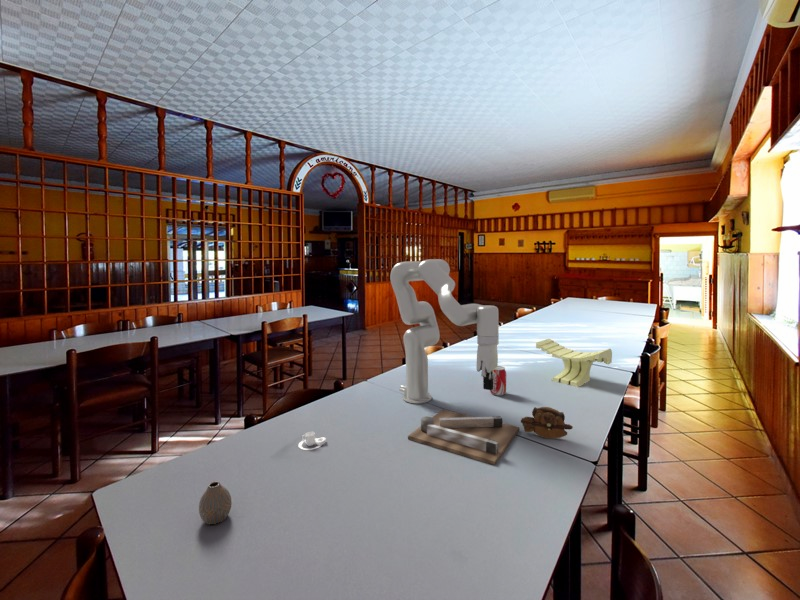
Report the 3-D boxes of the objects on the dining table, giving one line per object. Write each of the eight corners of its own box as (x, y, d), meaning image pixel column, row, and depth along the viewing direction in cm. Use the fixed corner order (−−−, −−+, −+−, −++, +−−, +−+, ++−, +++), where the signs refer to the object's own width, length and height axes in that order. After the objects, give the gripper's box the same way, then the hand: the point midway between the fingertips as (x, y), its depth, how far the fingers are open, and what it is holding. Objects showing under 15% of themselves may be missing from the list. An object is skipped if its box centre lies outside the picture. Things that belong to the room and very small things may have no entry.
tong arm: (440, 428, 128) (440, 420, 128) (439, 425, 131) (439, 417, 130) (502, 426, 129) (502, 418, 129) (500, 424, 131) (500, 416, 131)
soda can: (506, 397, 161) (507, 370, 160) (490, 396, 162) (490, 369, 161) (505, 391, 168) (505, 365, 166) (489, 390, 169) (489, 365, 168)
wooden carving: (520, 436, 125) (520, 408, 124) (520, 430, 129) (521, 403, 128) (573, 444, 120) (574, 414, 118) (571, 437, 124) (573, 409, 123)
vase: (207, 510, 90) (205, 476, 89) (236, 508, 91) (234, 474, 90) (194, 530, 83) (191, 494, 82) (225, 528, 84) (223, 492, 83)
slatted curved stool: (610, 383, 176) (612, 347, 174) (597, 391, 166) (599, 353, 164) (550, 370, 198) (551, 337, 197) (535, 376, 188) (536, 342, 186)
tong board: (408, 439, 124) (408, 424, 124) (442, 412, 146) (442, 399, 145) (494, 465, 108) (494, 448, 107) (519, 430, 129) (519, 416, 129)
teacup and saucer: (329, 441, 124) (329, 430, 124) (316, 453, 117) (316, 441, 116) (307, 438, 127) (306, 426, 126) (293, 449, 119) (292, 437, 119)
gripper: (485, 335, 141) (485, 381, 142) (470, 342, 128) (470, 393, 130) (504, 336, 137) (504, 384, 138) (490, 344, 124) (491, 397, 126)
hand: (488, 388), depth 134 cm, fingers closed
